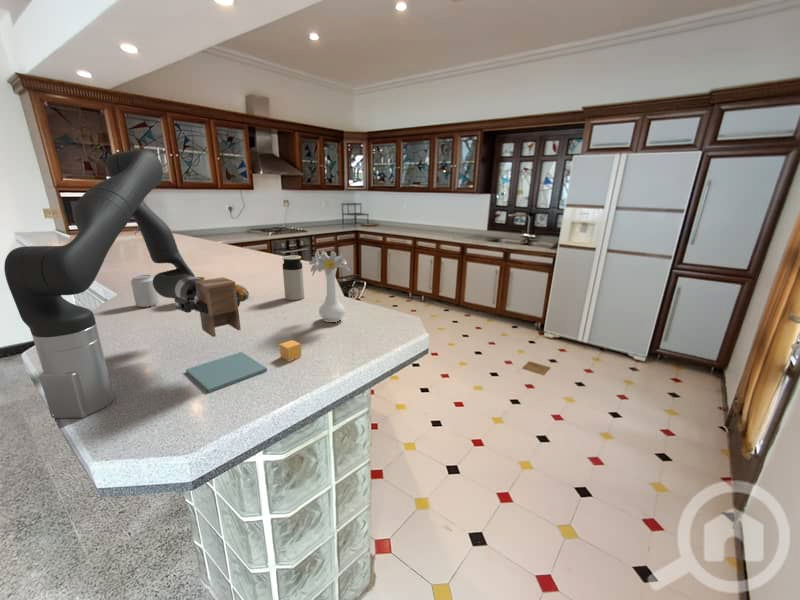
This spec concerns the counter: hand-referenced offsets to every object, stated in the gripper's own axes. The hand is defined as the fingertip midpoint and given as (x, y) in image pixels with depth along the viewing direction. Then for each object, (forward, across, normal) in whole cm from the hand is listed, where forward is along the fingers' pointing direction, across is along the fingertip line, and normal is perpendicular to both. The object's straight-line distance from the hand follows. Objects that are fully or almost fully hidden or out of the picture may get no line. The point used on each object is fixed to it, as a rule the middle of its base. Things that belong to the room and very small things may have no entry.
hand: (222, 306), depth 81 cm
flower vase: (-15, +42, +18) cm, 48 cm away
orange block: (+2, +16, +18) cm, 24 cm away
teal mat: (-2, 0, +18) cm, 18 cm away
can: (-80, +2, +18) cm, 82 cm away
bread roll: (-65, +30, +18) cm, 74 cm away
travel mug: (-48, +48, +18) cm, 70 cm away
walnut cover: (-2, 0, +6) cm, 7 cm away
